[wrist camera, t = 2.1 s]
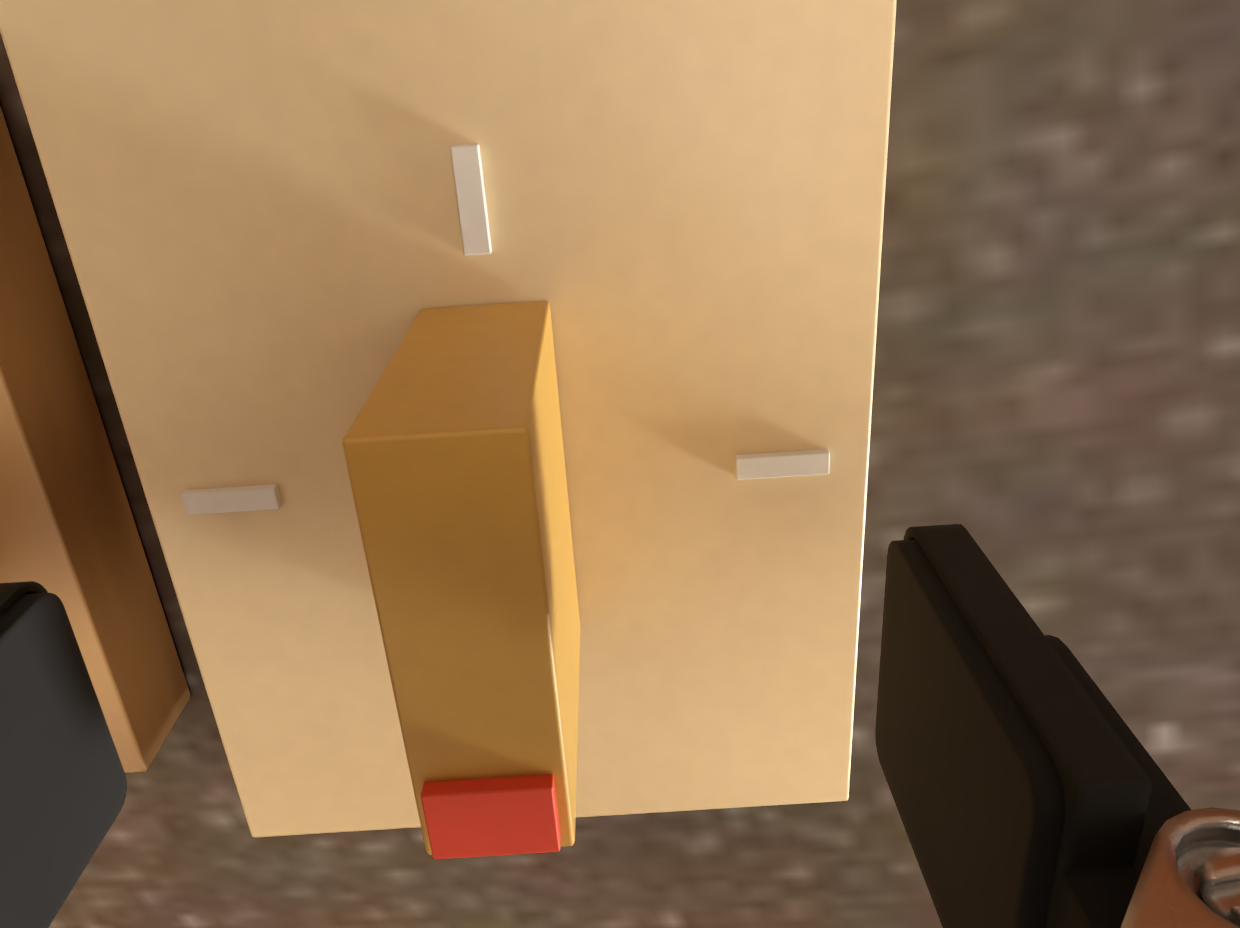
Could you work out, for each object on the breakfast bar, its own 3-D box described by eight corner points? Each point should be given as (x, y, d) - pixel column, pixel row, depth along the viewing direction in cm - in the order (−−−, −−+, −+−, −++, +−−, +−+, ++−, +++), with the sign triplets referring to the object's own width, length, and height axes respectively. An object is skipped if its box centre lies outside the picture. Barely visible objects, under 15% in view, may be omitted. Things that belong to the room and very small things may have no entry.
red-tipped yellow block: (419, 307, 13) (333, 449, 9) (549, 299, 13) (527, 438, 9) (470, 635, 15) (422, 873, 11) (580, 627, 15) (574, 863, 11)
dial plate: (102, -9, 14) (-25, -15, 11) (843, -58, 14) (906, -77, 11) (297, 727, 20) (248, 846, 17) (814, 695, 20) (851, 808, 17)
